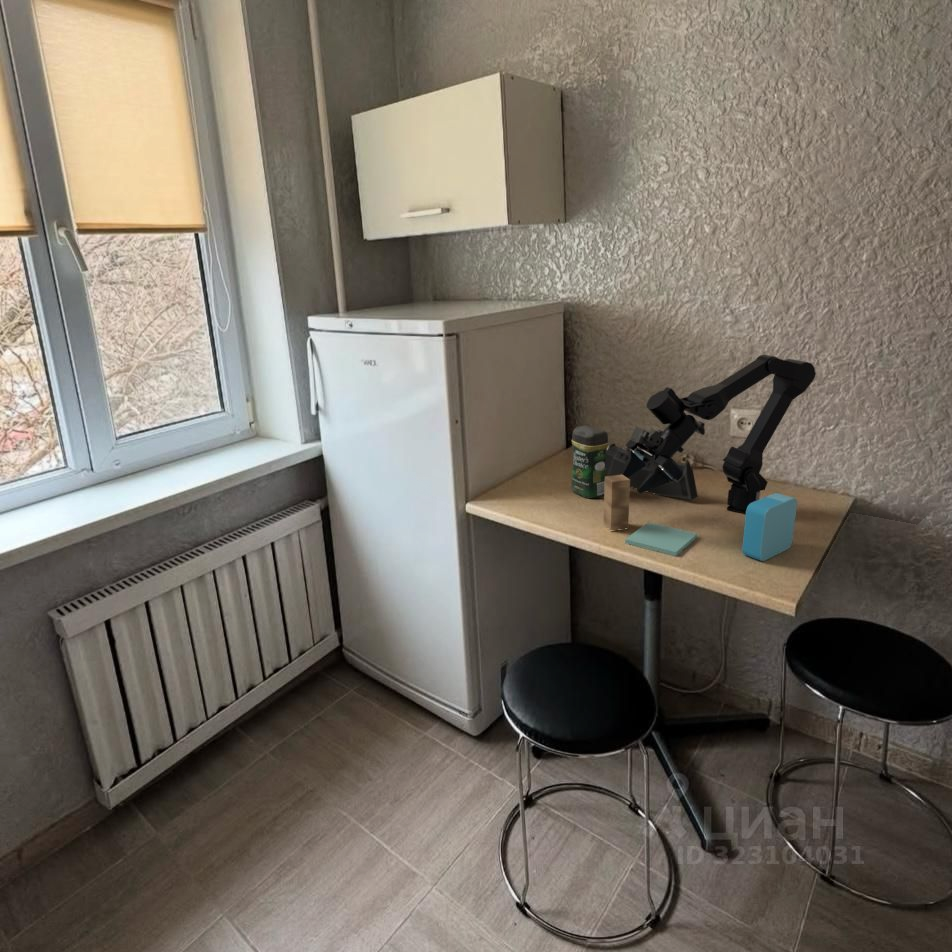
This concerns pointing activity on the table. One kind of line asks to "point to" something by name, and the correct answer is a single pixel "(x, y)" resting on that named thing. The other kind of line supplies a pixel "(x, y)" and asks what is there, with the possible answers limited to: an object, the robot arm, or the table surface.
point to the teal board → (661, 538)
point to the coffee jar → (589, 461)
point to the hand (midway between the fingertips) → (629, 485)
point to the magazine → (618, 459)
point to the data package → (769, 526)
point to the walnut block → (616, 502)
